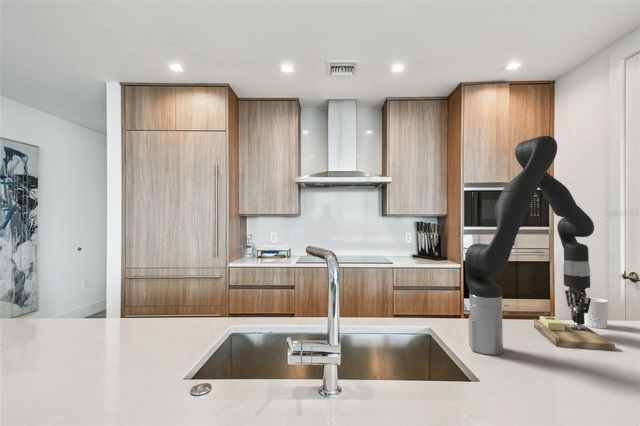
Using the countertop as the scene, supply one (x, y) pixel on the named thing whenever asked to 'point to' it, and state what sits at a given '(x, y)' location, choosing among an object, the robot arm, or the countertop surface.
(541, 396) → the countertop surface
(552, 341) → the board
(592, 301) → the white cup
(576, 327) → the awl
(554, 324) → the stud finder
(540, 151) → the robot arm
